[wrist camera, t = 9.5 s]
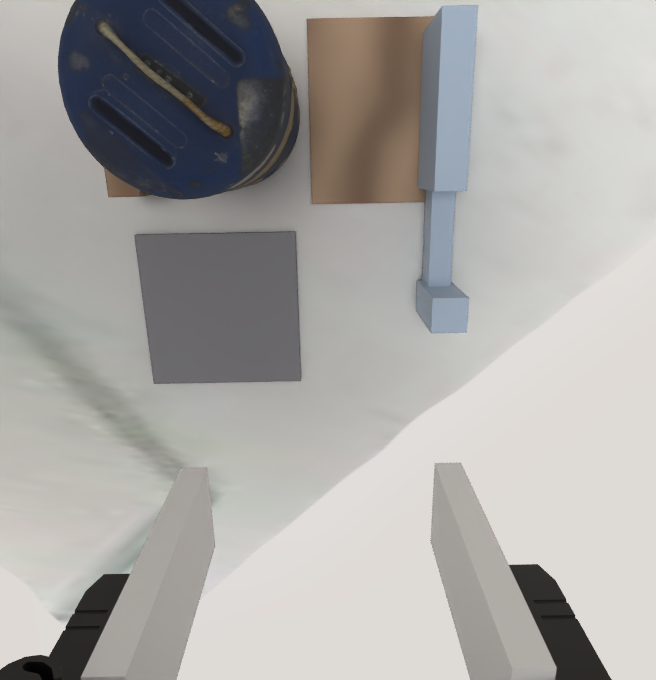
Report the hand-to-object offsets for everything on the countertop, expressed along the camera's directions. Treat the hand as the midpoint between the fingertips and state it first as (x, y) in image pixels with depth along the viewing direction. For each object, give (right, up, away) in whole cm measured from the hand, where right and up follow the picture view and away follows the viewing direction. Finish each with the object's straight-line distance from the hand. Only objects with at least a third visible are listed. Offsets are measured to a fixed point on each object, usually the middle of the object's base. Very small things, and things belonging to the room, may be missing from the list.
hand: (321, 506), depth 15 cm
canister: (-6, +21, +22) cm, 31 cm away
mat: (-8, +7, +26) cm, 28 cm away
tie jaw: (+8, +16, +23) cm, 29 cm away
